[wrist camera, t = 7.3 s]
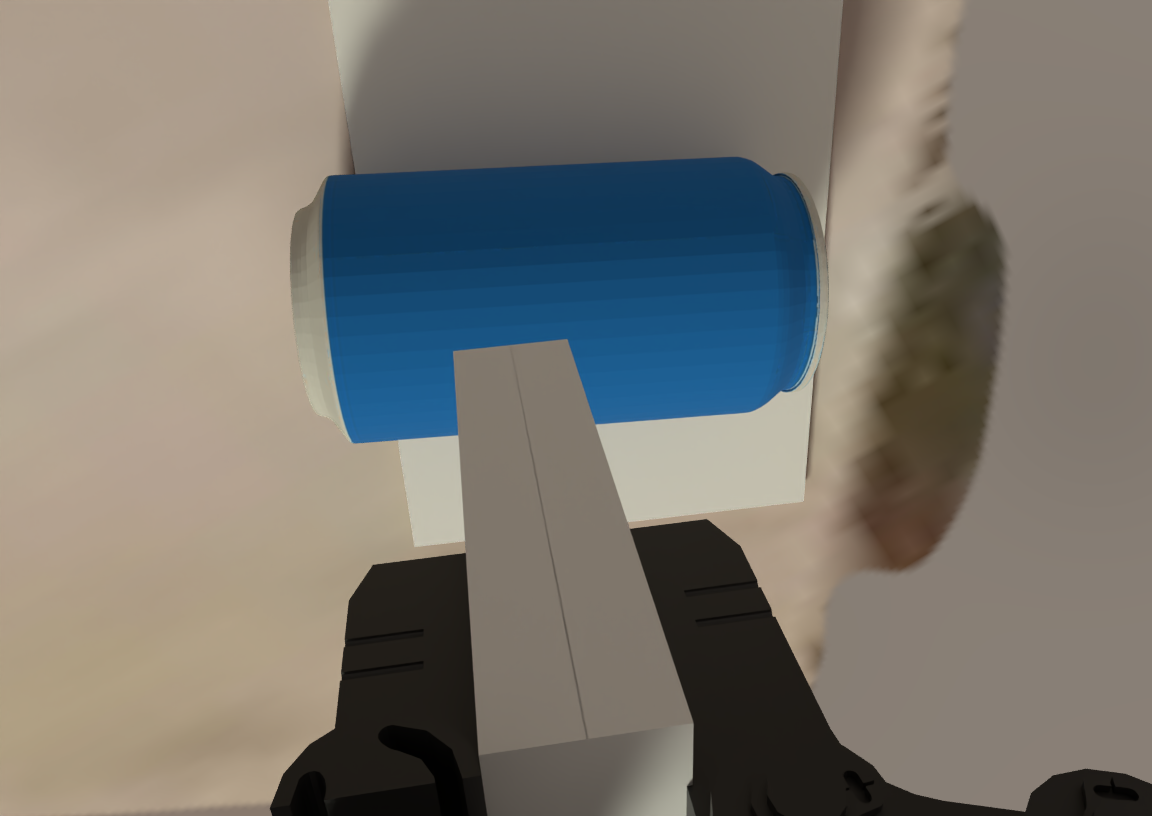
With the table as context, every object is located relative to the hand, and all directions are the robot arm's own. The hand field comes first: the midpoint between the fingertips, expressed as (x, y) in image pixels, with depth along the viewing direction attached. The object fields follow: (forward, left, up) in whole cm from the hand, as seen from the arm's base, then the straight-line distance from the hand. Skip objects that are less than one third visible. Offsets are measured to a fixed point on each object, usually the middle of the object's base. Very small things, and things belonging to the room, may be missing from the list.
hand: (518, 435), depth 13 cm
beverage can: (+2, -5, -11) cm, 12 cm away
